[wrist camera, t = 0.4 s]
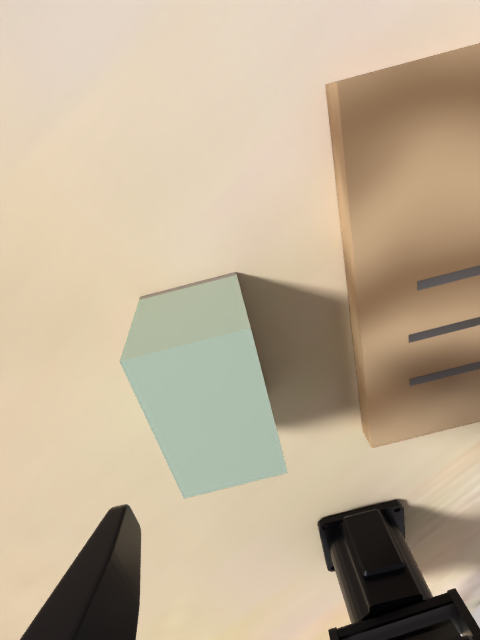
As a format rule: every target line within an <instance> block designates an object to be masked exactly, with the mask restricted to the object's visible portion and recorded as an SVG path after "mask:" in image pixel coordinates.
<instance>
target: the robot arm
mask: <svg viewBox="0 0 480 640" xmlns="http://www.w3.org/2000/svg"><path fill="white" fill-rule="evenodd" d="M318 529H319V534H320V538H321V543H322V547H323V552H324V556H325V561H326V565H327V568H328V571H332V572H333V571H335V572H336V575H337V578H338V581H339V585H340V588H341V591H342V594H343V598H344V601H345V604H346V607H347V611H348V614H349V617H350V620H351V623H352V624H350V625H347V626H344V627H341V628H338V629H337V628H336V627H335V628H332V629H329V630H328V631H329V636H330V640H480V628H479V627H478V625H477V623H476V622H475V620H474V618H473V617H472V615H471V613H470V612H469V610H468V608H467V607H466V605H465V604H464V602H463V600H462V599H461V597H460V595H459V594H458V592H457V590H456V589H455V588H454V589H451V590H448V591H447V593H444V594H441V595H438V596H435V597H433V596H432V594H431V592H430V590H429V588H428V586H427V584H426V582H425V580H424V578H423V576H422V574H421V572H420V570H419V568H418V565H417V563H416V561H415V559H414V557H413V555H412V553H411V551H410V549H409V547H408V545H407V543H406V541H405V527H404V508H403V506H402V504H401V502H399V501H394V502H390V503H385V504H381V505H377V506H373V507H369V508H365V509H361V510H357V511H353V512H349V513H345V514H341V515H337V516H332V517H328V518H324V519H321V520H320V521H318ZM140 567H141V529H140V525H139V523H138V521H137V519H136V517H135V515H134V513H133V511H132V509H131V508H130V506H129V505H127V504H125V505H120V506H116V507H112V508H111V509H110V510H109V511H108V512H107V514H106V515H105V517H104V518H103V519H102V521H101V522H100V524H99V525H98V527H97V528H96V530H95V531H94V533H93V534H92V535H91V537H90V538H89V540H88V541H87V543H86V544H85V546H84V547H83V549H82V550H81V551H80V553H79V554H78V556H77V557H76V559H75V560H74V562H73V563H72V565H71V566H70V567H69V569H68V570H67V572H66V573H65V575H64V576H63V578H62V579H61V581H60V582H59V583H58V585H57V586H56V588H55V589H54V591H53V592H52V594H51V595H50V597H49V598H48V600H47V601H46V602H45V604H44V605H43V607H42V608H41V610H40V611H39V613H38V614H37V616H36V617H35V618H34V620H33V621H32V623H31V624H30V626H29V627H28V629H27V630H26V632H25V633H24V634H23V636H22V637H21V639H20V640H136V632H137V624H138V615H139V604H140ZM460 634H462V635H463V637H461V635H460Z"/></svg>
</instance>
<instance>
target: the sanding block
mask: <svg viewBox="0 0 480 640" xmlns="http://www.w3.org/2000/svg"><path fill="white" fill-rule="evenodd" d="M120 363H121V365H122V367H123V370H124V372H125V374H126V376H127V378H128V380H129V382H130V385H131V387H132V389H133V391H134V393H135V395H136V397H137V399H138V402H139V404H140V406H141V408H142V410H143V412H144V414H145V417H146V419H147V421H148V423H149V425H150V427H151V429H152V431H153V434H154V436H155V438H156V440H157V442H158V444H159V446H160V449H161V451H162V453H163V455H164V457H165V459H166V461H167V463H168V466H169V468H170V470H171V472H172V474H173V476H174V478H175V481H176V483H177V485H178V487H179V489H180V491H181V493H182V495H183V498H184V499H185V498H189V497H193V496H197V495H201V494H205V493H209V492H213V491H217V490H221V489H225V488H229V487H233V486H237V485H241V484H245V483H249V482H253V481H257V480H261V479H265V478H269V477H273V476H277V475H281V474H285V473H288V472H287V468H286V464H285V460H284V456H283V452H282V449H281V445H280V441H279V437H278V433H277V429H276V425H275V421H274V417H273V413H272V409H271V405H270V401H269V398H268V394H267V390H266V386H265V382H264V378H263V374H262V370H261V366H260V362H259V358H258V354H257V350H256V347H255V343H254V339H253V335H252V331H251V327H250V323H249V319H248V316H247V312H246V308H245V304H244V301H243V297H242V293H241V289H240V285H239V282H238V278H237V274H236V272H234V273H230V274H226V275H223V276H219V277H215V278H211V279H207V280H203V281H199V282H196V283H192V284H188V285H184V286H180V287H176V288H172V289H169V290H165V291H161V292H157V293H153V294H149V295H145V296H141V297H140V299H139V302H138V305H137V309H136V312H135V315H134V318H133V321H132V324H131V328H130V331H129V334H128V337H127V340H126V343H125V347H124V350H123V353H122V356H121V359H120Z"/></svg>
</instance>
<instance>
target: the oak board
mask: <svg viewBox="0 0 480 640" xmlns="http://www.w3.org/2000/svg"><path fill="white" fill-rule="evenodd" d="M326 94H327V103H328V113H329V122H330V131H331V141H332V150H333V159H334V169H335V178H336V187H337V196H338V206H339V215H340V224H341V234H342V243H343V252H344V262H345V271H346V280H347V289H348V299H349V308H350V317H351V327H352V336H353V345H354V355H355V364H356V373H357V382H358V392H359V401H360V410H361V420H362V429H363V432H364V434H365V436H366V438H367V440H368V442H369V444H370V446H371V447H372V448H375V447H379V446H383V445H387V444H391V443H395V442H399V441H403V440H407V439H411V438H415V437H419V436H423V435H427V434H431V433H435V432H439V431H443V430H447V429H451V428H455V427H459V426H463V425H467V424H472V423H476V422H480V43H479V44H475V45H472V46H468V47H464V48H460V49H457V50H453V51H449V52H446V53H442V54H438V55H434V56H431V57H427V58H423V59H419V60H416V61H412V62H408V63H404V64H401V65H397V66H393V67H389V68H386V69H382V70H378V71H374V72H371V73H367V74H363V75H360V76H356V77H352V78H348V79H345V80H341V81H337V82H333V83H330V84H326Z"/></svg>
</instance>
